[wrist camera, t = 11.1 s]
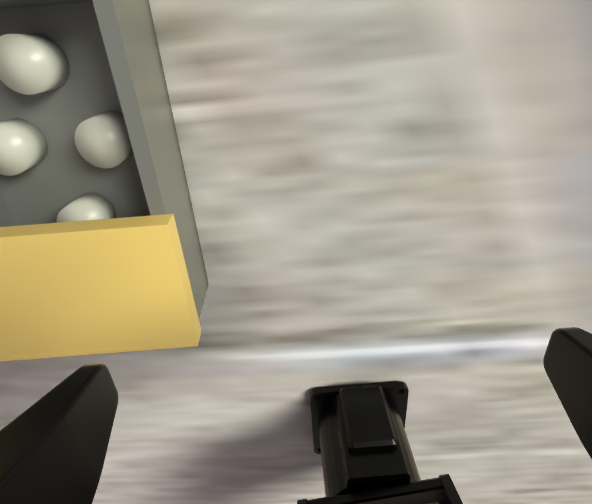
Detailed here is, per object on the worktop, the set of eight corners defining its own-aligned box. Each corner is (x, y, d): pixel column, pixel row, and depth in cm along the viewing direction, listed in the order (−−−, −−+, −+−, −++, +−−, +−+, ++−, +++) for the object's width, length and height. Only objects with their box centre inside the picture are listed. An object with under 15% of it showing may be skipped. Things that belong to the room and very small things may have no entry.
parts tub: (213, 283, 22) (197, 346, 17) (41, 297, 22) (-18, 362, 17) (152, -21, 15) (99, -43, 11) (-100, -2, 15) (-257, -17, 10)
